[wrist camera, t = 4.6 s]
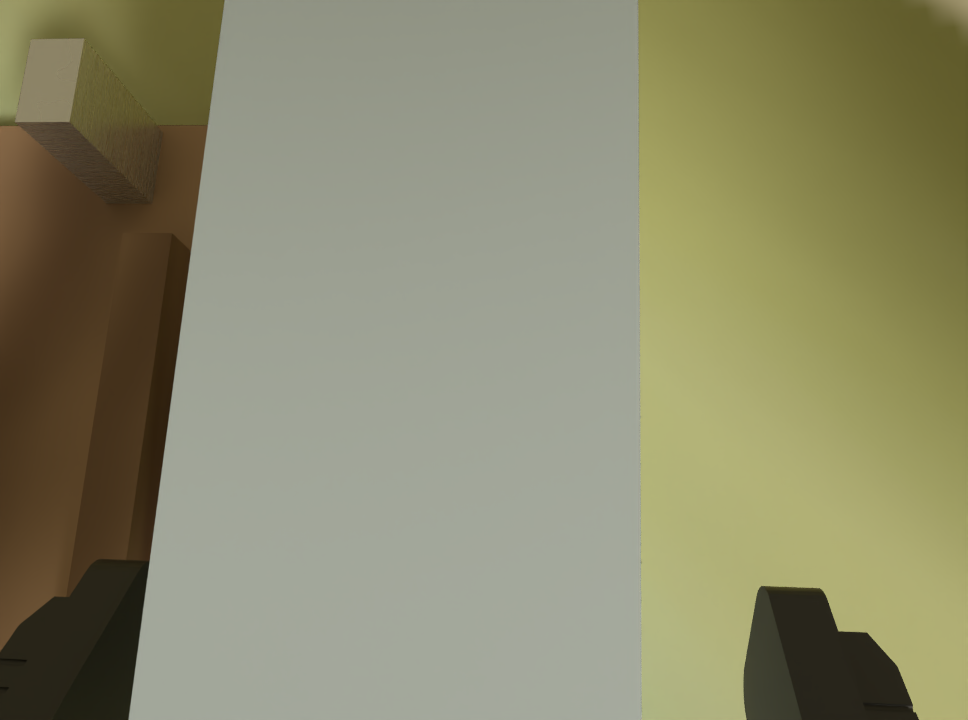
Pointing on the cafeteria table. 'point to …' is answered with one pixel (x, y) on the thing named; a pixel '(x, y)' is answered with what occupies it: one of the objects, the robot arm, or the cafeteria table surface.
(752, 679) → the robot arm
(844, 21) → the cafeteria table surface
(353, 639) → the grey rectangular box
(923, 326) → the cafeteria table surface
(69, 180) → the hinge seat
